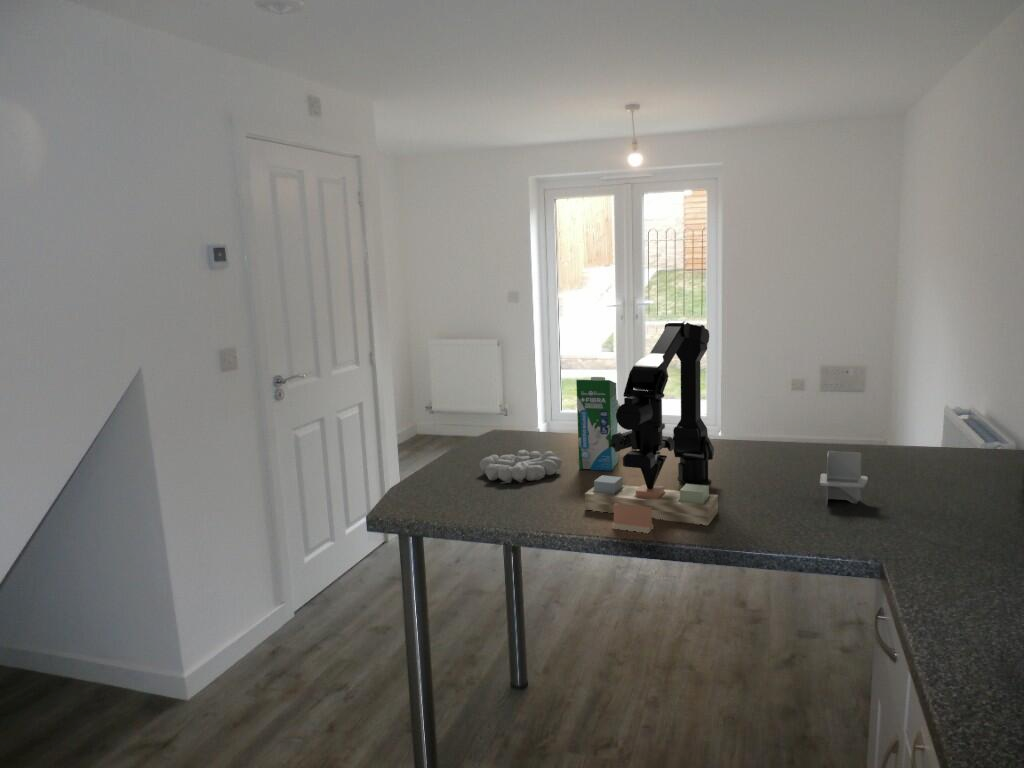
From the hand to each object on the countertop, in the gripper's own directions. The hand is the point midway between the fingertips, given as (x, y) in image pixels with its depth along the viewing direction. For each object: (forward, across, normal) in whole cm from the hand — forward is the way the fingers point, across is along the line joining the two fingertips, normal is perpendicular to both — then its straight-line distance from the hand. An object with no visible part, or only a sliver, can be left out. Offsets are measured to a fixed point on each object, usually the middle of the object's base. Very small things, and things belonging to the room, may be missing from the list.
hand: (650, 488), depth 170 cm
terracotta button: (+3, 0, 0) cm, 3 cm away
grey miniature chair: (+6, -20, +38) cm, 44 cm away
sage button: (+2, 0, +10) cm, 10 cm away
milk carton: (+6, -31, -25) cm, 40 cm away
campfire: (+6, -17, -42) cm, 46 cm away
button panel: (+5, 0, 0) cm, 5 cm away
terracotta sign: (+5, +12, 0) cm, 13 cm away
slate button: (+2, 0, -10) cm, 10 cm away
